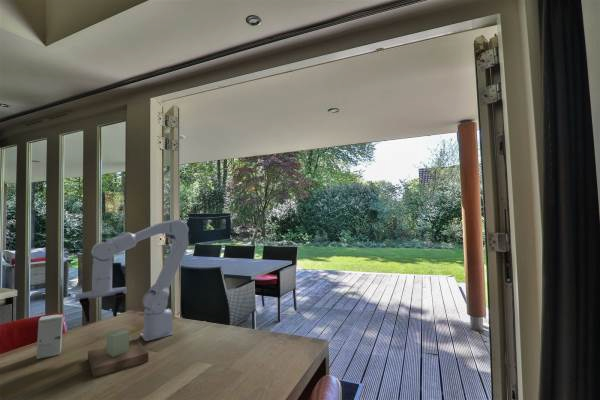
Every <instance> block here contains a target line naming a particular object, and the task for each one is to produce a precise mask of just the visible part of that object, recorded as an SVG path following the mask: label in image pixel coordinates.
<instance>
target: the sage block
mask: <svg viewBox="0 0 600 400" xmlns="http://www.w3.org/2000/svg"><path fill="white" fill-rule="evenodd" d="M129 341H130V331H128V330H126V329H124V328H121V329H117V330H114V331H110V332H107V334H106V347H107V353H108V354H109V355H111V356H112V357H114V356H117V355H120V354H123V353H125V352H128V351H129Z"/></svg>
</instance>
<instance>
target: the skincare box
mask: <svg viewBox="0 0 600 400" xmlns="http://www.w3.org/2000/svg"><path fill="white" fill-rule="evenodd" d="M63 323H64V314H63V313H60V314H51V315H44V316H43V315H42V316H40V318H39V320H38V323H37V324H38V326H37V341H36V343H37V344H36V357H35V358H36V360H39V359H43V358H49V357H54V356H58V355H61V351H62V344H63V326H64V324H63Z"/></svg>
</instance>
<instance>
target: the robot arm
mask: <svg viewBox="0 0 600 400" xmlns="http://www.w3.org/2000/svg"><path fill="white" fill-rule="evenodd" d="M189 231H190V229H189V226H188V224H187V223H186V221H184V220H183V219H168V220H164V221H160V222H158V223H156V224H153V225H151V226H149V227H148V226H147V227H146V228H144V229H142V230H139V231H137V232H135V233H132V232H129V231H128V232H125V231H123V232H120V234H119V235H117V236H115V237H112V238H109V237H108V238H106V239H105V241H100V242H98V243H95V244H94V245H93V246H92V247H91V250H90V254H91V255H92V257H93V258H92V273H91V290H89V291H85V292H81V293H76V294H74V300H75V302H79V304H80V305H81V308H82V309H83V313H84V316H85V322H86V323H89V322H90V299H95V298H103V297H108V296H112V300H113V305H112V306H113V308H112V316H113V317H114V318H116V317H117V314H118V311H119V307H120V305H121V303H122V301H123V300H124V297H125V295H124V294H127V293H128V288H127V287H126V286H122V287H121V286H120V287H113V265H114V264H113V257H114V256H115V255H118V254H120V253H122V252H126V251H128V250H129V249H132V248H135V247H136V246H137V244H138V242H140V241H143V240H145V239H148V238H150V237H154V236H156V235H159V234H163V235H164V234H165V235H166V236H167V237H168V238H169V239H170V241H171V242H172V244H173V245H172V248H171V250H170V252H169V254H168V256H167V258H166V260H165V262H164V264H163V267H162V268H161V271H160V273H159V275H158V277H157V280H156V281H155V283H154V284H153V285H152V286H151V287H150V288H149V290H148V291H147V292H146V293H145V294H144V295H143V297H142V305H143V306H144V310H143V332H142V333H140V336H141V338H142V339H143V340H144V341H145V342H148V341H153V340H156V339H161V338H164V337H168V336H171V335H174V333H173V312H172V309H171V308H167V307H168V302H169V301H168V300H169V295H170V286H171V285H172V284H171V283H172V282H173V280H174V277H175V275H176V273H177V271H178V268H179V266H180V264H181V263H182V260H183V258H184V256H185V253H186V252H187V249H188V247H189V245H190V244H189V243H190V242H189Z"/></svg>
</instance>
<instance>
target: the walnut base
mask: <svg viewBox="0 0 600 400" xmlns="http://www.w3.org/2000/svg"><path fill="white" fill-rule="evenodd" d="M87 362H88V364H89V367H90V371H91V375H92V378H97V377H101V376H103V375H104V376H105V375H107V374H110V373H113V372H117V371H120V370H124V369H127V368H130V367H134V366H136V365H140V364H143V363H147V362H149V352H148V350H147V349H146V348H145V346H144V345H143V344H142V342H141V341H140V340H139V339H138V338H136V339H133V340H129V351H128V352H125V353H123V354H120V355H117V356H114V357H112V356H111V355H109V354H108V353H107V346H105V347H101V348H97V349H93V350H89V351H87Z"/></svg>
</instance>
